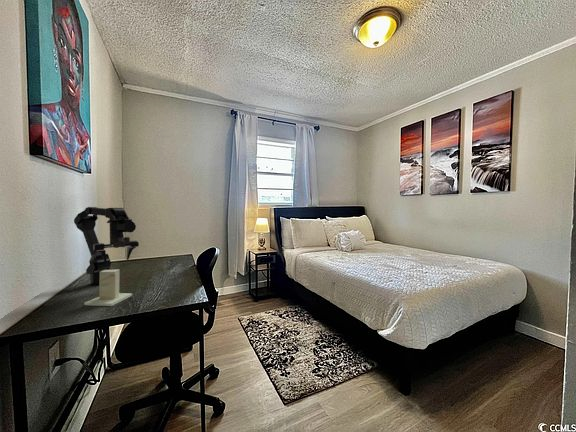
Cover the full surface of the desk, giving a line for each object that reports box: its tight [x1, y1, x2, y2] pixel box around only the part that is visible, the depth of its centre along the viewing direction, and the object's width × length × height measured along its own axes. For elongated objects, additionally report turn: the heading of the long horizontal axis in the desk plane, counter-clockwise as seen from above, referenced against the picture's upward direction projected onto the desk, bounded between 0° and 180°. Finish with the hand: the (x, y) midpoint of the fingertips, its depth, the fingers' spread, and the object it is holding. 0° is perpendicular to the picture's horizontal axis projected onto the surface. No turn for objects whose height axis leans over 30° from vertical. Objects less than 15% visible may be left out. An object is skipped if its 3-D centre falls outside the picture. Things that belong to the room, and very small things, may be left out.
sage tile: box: [83, 292, 133, 307], centre depth 105 cm, size 12×12×1 cm
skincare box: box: [98, 268, 120, 300], centre depth 105 cm, size 6×4×12 cm
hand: (117, 261), depth 124 cm, fingers open, 9 cm apart
